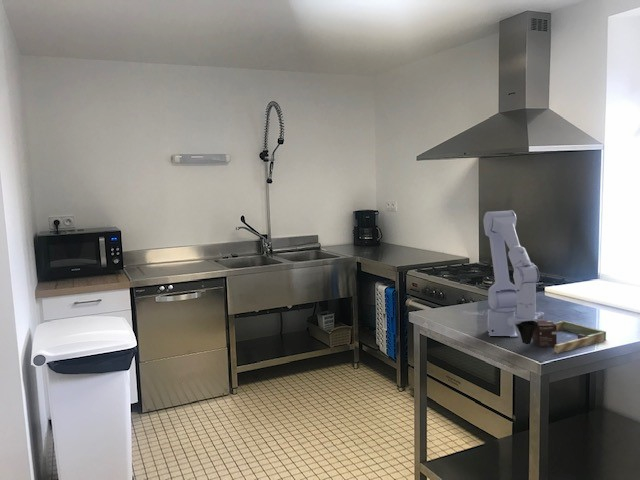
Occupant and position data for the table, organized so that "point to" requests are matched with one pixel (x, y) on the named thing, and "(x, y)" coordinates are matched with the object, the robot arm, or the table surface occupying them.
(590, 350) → the table surface
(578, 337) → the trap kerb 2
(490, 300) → the robot arm
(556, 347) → the wooden frame
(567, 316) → the table surface
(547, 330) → the box
